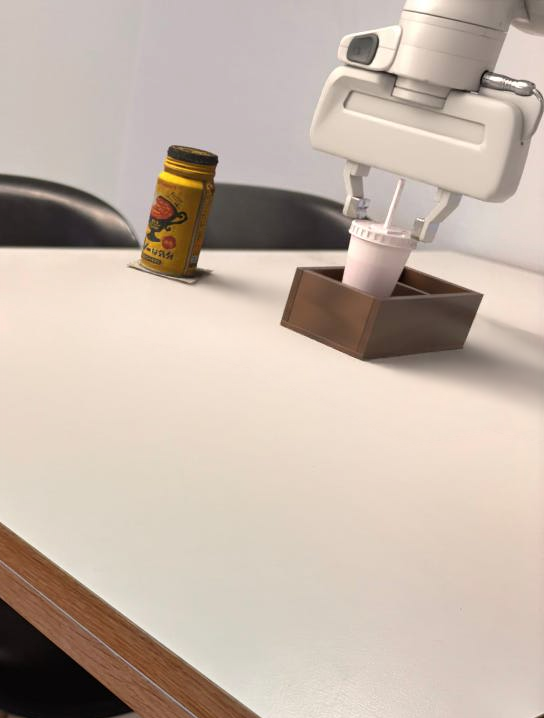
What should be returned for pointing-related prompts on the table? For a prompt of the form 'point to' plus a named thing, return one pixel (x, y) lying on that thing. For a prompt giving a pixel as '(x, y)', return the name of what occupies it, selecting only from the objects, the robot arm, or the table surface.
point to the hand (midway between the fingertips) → (385, 228)
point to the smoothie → (378, 252)
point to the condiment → (179, 215)
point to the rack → (380, 313)
